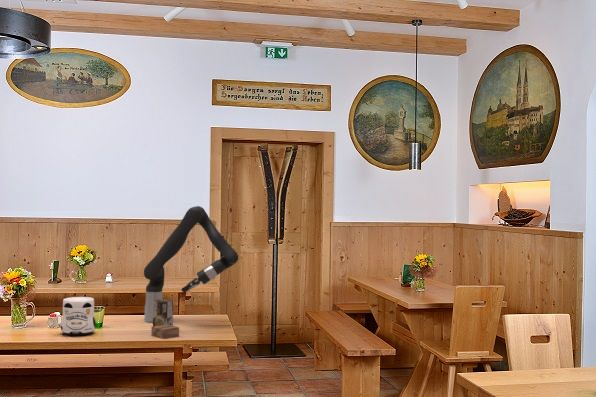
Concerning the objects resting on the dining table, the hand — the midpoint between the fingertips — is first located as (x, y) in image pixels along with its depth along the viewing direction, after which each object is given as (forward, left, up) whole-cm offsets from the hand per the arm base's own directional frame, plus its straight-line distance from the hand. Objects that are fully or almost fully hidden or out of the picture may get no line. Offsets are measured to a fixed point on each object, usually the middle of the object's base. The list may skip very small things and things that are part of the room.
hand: (182, 291), depth 390 cm
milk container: (-22, -50, -20) cm, 58 cm away
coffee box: (-1, -12, -20) cm, 24 cm away
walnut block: (+12, -20, -20) cm, 31 cm away
